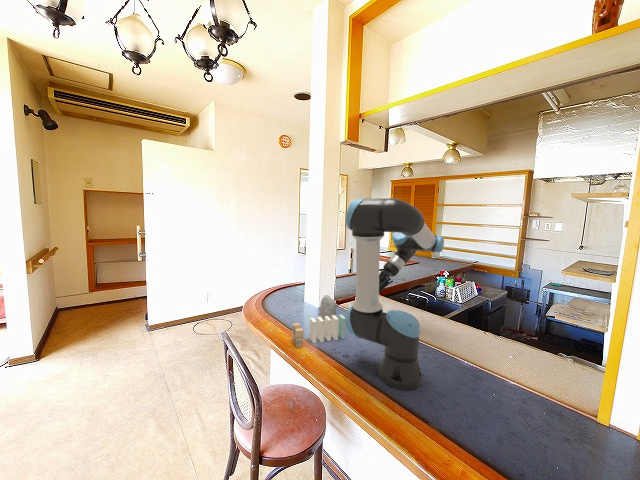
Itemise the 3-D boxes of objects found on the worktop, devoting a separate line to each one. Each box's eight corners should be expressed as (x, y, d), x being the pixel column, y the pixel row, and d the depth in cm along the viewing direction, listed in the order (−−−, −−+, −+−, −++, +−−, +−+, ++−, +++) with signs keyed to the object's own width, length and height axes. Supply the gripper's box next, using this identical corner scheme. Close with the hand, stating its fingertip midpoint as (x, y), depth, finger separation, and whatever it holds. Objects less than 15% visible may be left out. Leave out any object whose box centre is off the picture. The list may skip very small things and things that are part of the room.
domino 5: (345, 338, 126) (345, 318, 125) (342, 339, 125) (342, 318, 124) (340, 333, 131) (341, 314, 130) (337, 334, 130) (338, 314, 129)
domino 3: (330, 340, 124) (331, 320, 123) (327, 341, 123) (328, 320, 122) (327, 335, 128) (327, 315, 127) (324, 336, 128) (324, 316, 127)
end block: (303, 346, 118) (303, 330, 117) (296, 347, 117) (296, 331, 116) (298, 338, 125) (298, 322, 125) (292, 339, 124) (292, 323, 124)
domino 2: (323, 341, 123) (324, 320, 121) (320, 342, 122) (320, 321, 121) (320, 336, 127) (320, 316, 126) (316, 337, 127) (317, 317, 126)
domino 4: (338, 339, 125) (338, 319, 124) (334, 340, 124) (335, 319, 123) (334, 334, 130) (334, 315, 128) (331, 335, 129) (331, 315, 128)
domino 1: (316, 342, 121) (316, 321, 120) (312, 343, 121) (313, 322, 120) (312, 337, 126) (313, 317, 125) (309, 338, 126) (310, 317, 124)
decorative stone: (338, 326, 140) (338, 298, 138) (329, 329, 136) (330, 300, 134) (324, 319, 148) (324, 293, 146) (315, 322, 144) (316, 295, 142)
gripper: (406, 273, 129) (374, 310, 125) (390, 268, 141) (361, 301, 137) (397, 263, 126) (364, 300, 123) (382, 258, 139) (352, 292, 135)
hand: (362, 301), depth 130 cm, fingers closed
